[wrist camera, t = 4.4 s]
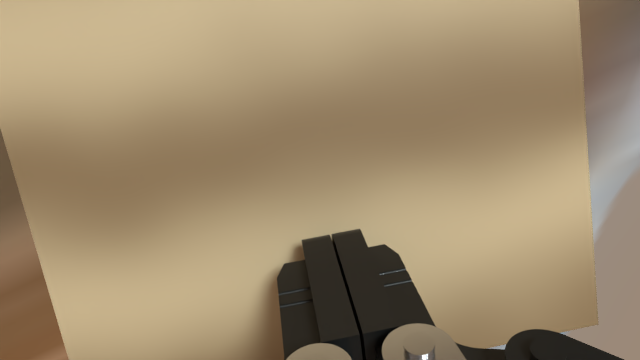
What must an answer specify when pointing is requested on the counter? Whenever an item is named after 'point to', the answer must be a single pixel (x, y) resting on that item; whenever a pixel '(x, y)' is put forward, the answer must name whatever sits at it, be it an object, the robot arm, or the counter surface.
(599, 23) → the counter surface
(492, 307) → the oak plank
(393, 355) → the robot arm
